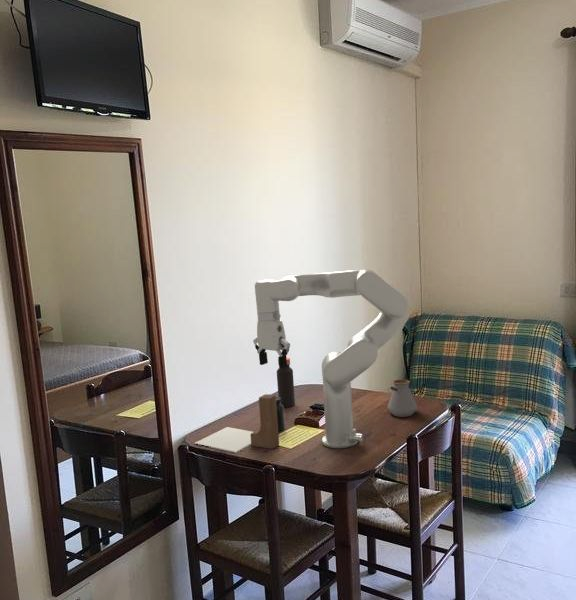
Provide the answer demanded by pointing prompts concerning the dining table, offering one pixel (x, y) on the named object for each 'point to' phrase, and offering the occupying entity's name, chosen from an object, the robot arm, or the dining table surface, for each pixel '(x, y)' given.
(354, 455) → the dining table surface
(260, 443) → the wooden block
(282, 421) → the supplement bottle
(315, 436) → the dining table surface
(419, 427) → the dining table surface
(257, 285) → the robot arm
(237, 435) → the off-white mat
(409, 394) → the coffee pot
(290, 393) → the vinegar
